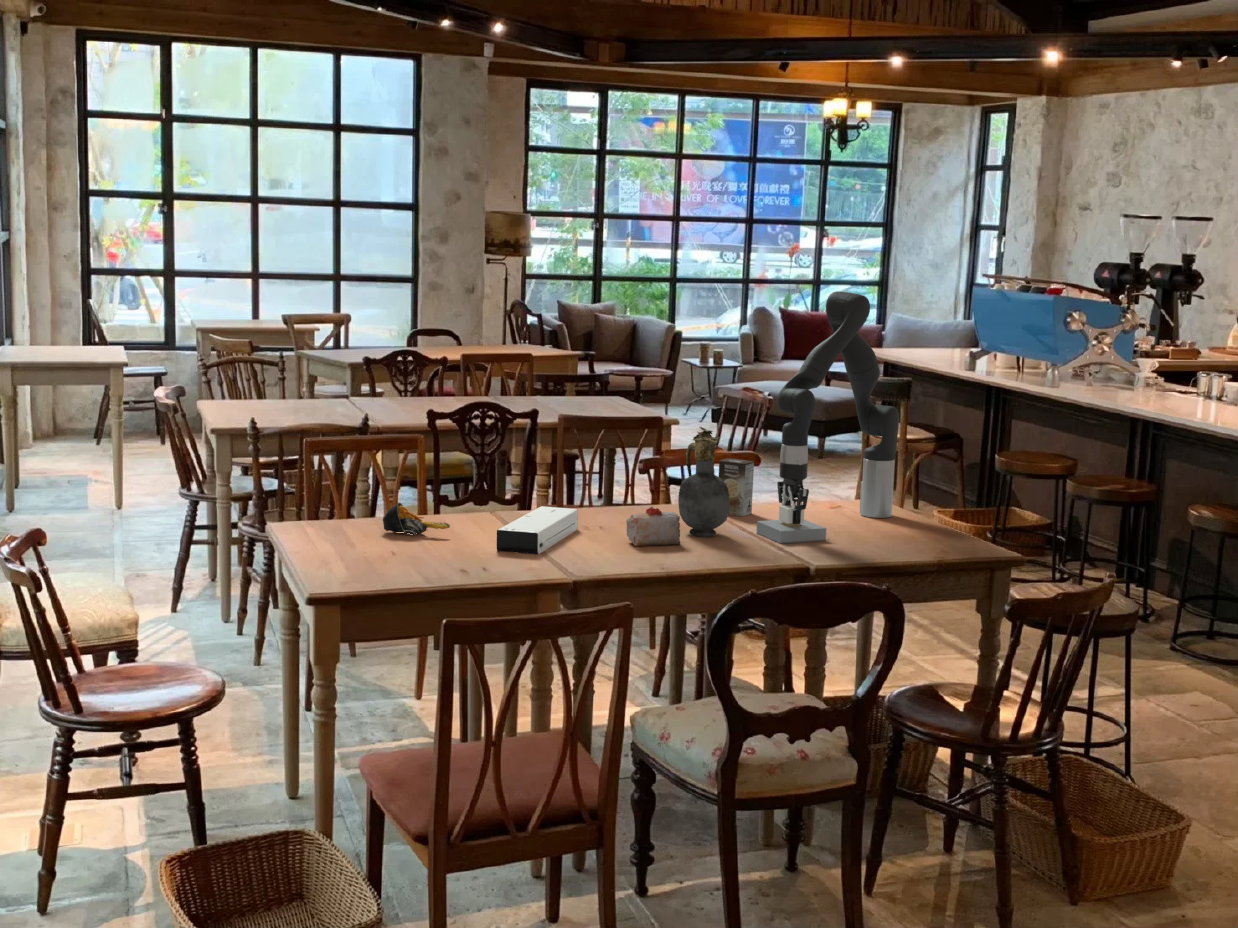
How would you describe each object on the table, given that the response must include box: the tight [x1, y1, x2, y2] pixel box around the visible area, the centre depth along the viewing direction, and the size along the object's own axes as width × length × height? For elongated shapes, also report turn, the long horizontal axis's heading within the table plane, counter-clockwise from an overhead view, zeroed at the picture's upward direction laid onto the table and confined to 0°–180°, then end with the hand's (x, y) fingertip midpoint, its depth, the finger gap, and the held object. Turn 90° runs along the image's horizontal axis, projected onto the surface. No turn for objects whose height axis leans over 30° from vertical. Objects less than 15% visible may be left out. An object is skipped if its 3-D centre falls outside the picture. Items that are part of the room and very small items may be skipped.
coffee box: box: [718, 457, 755, 517], centre depth 398 cm, size 9×6×16 cm
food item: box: [625, 506, 681, 547], centre depth 354 cm, size 14×8×10 cm, turn 105°
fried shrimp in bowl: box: [382, 502, 450, 536], centre depth 361 cm, size 9×11×18 cm
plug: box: [778, 505, 805, 527], centre depth 366 cm, size 5×5×7 cm
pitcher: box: [677, 426, 730, 538], centre depth 367 cm, size 11×19×30 cm, turn 22°
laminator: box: [496, 505, 579, 556], centre depth 356 cm, size 34×12×6 cm, turn 164°
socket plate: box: [756, 519, 827, 545], centre depth 366 cm, size 14×14×4 cm
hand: (791, 521), depth 366 cm, fingers closed on plug, 4 cm apart
